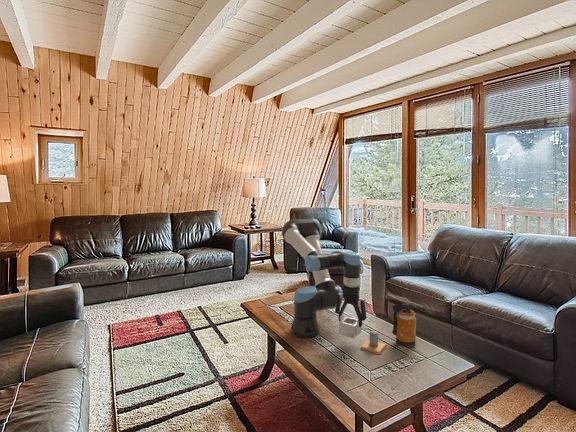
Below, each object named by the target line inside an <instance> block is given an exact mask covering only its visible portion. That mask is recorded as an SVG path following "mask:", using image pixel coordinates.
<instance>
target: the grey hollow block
mask: <svg viewBox="0 0 576 432" xmlns="http://www.w3.org/2000/svg"><path fill="white" fill-rule="evenodd" d="M357 320H358V318H354V317H351V316H349V315H348V316H344V319H342V320H341V321H338V335H341V336H345V337H347V338H351V339H355V338H357V337H358V336H359V335H361V333H362V327H361V328H360V333H359V334H357Z"/></svg>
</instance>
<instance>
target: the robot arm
mask: <svg viewBox="0 0 576 432" xmlns="http://www.w3.org/2000/svg"><path fill="white" fill-rule="evenodd" d="M322 230H323V229H322V226H321V223H320V221H319V220H318V219H316V218H309V217H308V218H301V219H300V218H299V219H298V218H297V219H289V220H288V221H287V222H285V223H284V224H283V226H282V229H281V236H282V238H283V240H284V241H285V242H286V243H287V244H290V245H291V246H292V247H293V248H294V249H295V250H296V252H297V253H298V254H299V255H300V256H301V257H302V258H303V260H304V267H305V269H306V270H307V271H308V272H312V275H313V278H314V282H315V284H314V285H304V286H300V287H299V288H297V289H296V290H295V291H294V295H293V306H294V307H293V308H294V310H293V313H294V314H293V315H294V316H293V317H294V318H293V321H292V324H291V327H290V331H291V334H292V335H293V336H294V337H297V338H301V339H303V338H304V339H309V338H315V337H317V336H319V334H320V333H321V328H320V324H319V321H318V317H317V316H318V315H317V312H321V311H325V310H326V311H327V310H333V309H335V310H334V313H335V314H337V315H338V322H340V321H341V320H342V319H344V318H345V314H344V312H345V309H346V308H347V305H352V307H353V308H354V311H355V314H356V316H357V319H358V320H357V334H359V333H360V328H361V329H362V327H363V322H364V321H366V320H367V318H368V317H367V311H366V299H365V298H361V297H360V283H361V281H360V280H361V278H360V276H361V254H360V253H358V252H356V251H346V252H342V251H341V250H333V251H332V252H330V253H324V252H323V251H322V250H323V249H322V247H321V244H320V240H321V236H322V233H323V231H322ZM331 269H332V270H334V269H340V270H343V282H342V284H343V286H342V287H343V289H342V288H341V286H340V285H338V284H336V283H335V280H333V279H331V274H330V273H329V270H331ZM343 299H344V300H343ZM360 334H361V333H360ZM360 334H359V335H360Z"/></svg>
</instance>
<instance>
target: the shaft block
mask: <svg viewBox="0 0 576 432" xmlns="http://www.w3.org/2000/svg"><path fill="white" fill-rule="evenodd" d="M385 348H387V343H383V342H380V341H379V332H378V331H377V330H370V331H369V338H368V339H367V340H366V341H365V342H364V343H363V344H362V345H360V349H361V350H363V351H367V352H371V353H374V354H378V355H380V354H381V353H382V352H383V351H384V350H385Z"/></svg>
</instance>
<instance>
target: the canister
mask: <svg viewBox="0 0 576 432" xmlns="http://www.w3.org/2000/svg"><path fill="white" fill-rule="evenodd" d="M413 309H416V305H415V304H413V303H403V302H401V301H400V302H399V303H396V304H395V305H393V306H392V311H393V313H392V314H393V327H392V328H393V329H392V331H391V332H392V334H393V335H394V336H395V342H396V343H398V344H399V345H401V346H406V347H411V346H414V345H415V344H416V335H417V333H416V332H417V318H416V313H415V312H414V310H413Z"/></svg>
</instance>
